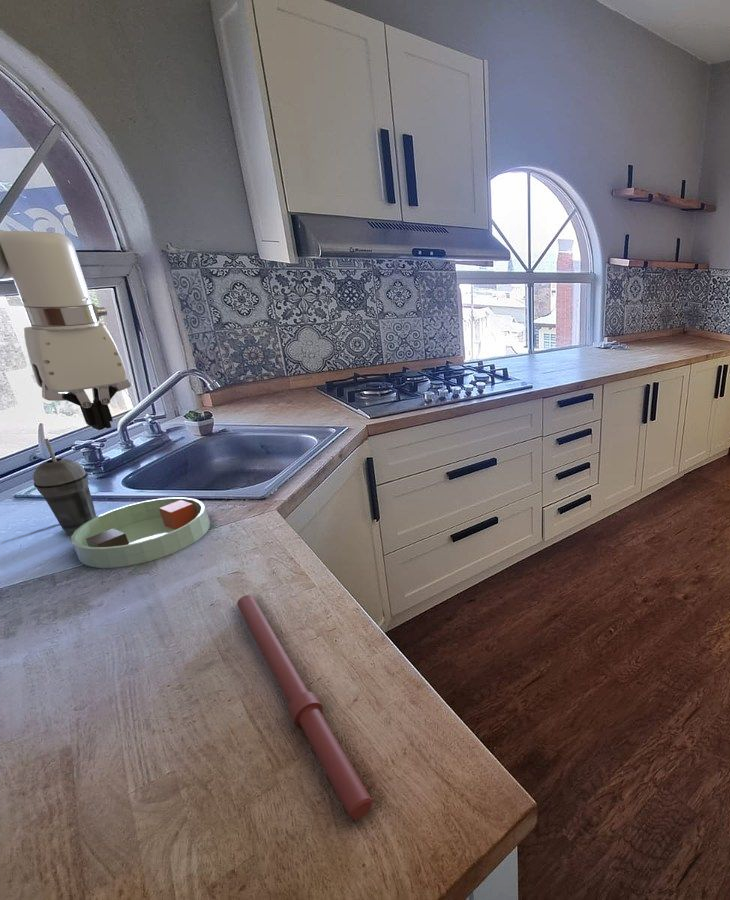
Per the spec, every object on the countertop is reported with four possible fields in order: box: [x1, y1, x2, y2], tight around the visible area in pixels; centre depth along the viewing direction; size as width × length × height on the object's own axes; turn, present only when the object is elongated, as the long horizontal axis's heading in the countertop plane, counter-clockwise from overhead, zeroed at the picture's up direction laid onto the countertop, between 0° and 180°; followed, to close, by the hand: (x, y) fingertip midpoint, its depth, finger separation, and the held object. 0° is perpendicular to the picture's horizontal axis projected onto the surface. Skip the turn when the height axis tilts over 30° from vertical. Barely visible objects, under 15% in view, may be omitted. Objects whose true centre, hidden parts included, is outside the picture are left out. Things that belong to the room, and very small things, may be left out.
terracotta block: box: [159, 500, 197, 530], centre depth 101 cm, size 4×4×4 cm
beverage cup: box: [32, 438, 97, 536], centre depth 96 cm, size 7×7×20 cm
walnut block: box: [86, 529, 129, 547], centre depth 91 cm, size 4×4×4 cm
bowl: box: [70, 496, 211, 569], centre depth 96 cm, size 19×19×4 cm
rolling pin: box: [236, 594, 373, 821], centre depth 65 cm, size 45×3×3 cm, turn 46°
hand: (101, 427), depth 85 cm, fingers closed
